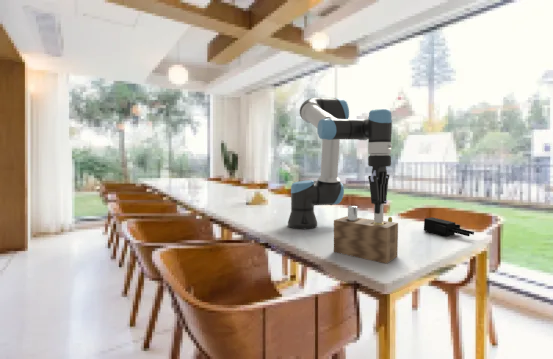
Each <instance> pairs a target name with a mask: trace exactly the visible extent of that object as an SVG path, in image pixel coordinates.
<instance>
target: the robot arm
mask: <svg viewBox="0 0 553 359" xmlns="http://www.w3.org/2000/svg"><path fill="white" fill-rule="evenodd" d="M349 108H350V107H349V105H348V101H346V99H344V98H339V97H318V96H317V97H312V98H308V99H307V100H305V101H303V103H301V105H300V107H299V116H300V117H301V119H302V120H303V121H304V122H305V123H307V124H311V125H313V127H315V128H316V129H317V130H316V131H317V135H318V138H319V139H321V140H322V141H321V144H322V145H321V158H320V160H321V162H320V176H319V177H317V182H315V181H314V180H312V179H311V180H310V179H309V180H308V179H307V180H301V181H300V180H299V181H296V182H295V181H294V182H293V183H292V184H291V185H290V187H291V188H290V209H291V211H290V215H289V218H288V220H287V227H288V228H290V229H295V230H296V229H297V230H310V229H311V230H312V229H315V228H317V227H318V221H317V216H316V213H315V209H314V208H315V206H333V205H339V204H340V203H341V202H342V201H343V198H344V194H345V188H344V184H343V183H342V182H341V178H339V177H338V171H339V155H340V142H341V140H355V141H356V140H358V141H367V140H368V145H367V146H368V147H367V148H368V149H367V154H368V158H367V164H368V166H369V167H372V168H371V169H372V170H371V175H368V177H367V179H368V181H369V190H370V192H369V193H370V202H371V204H372V205H373V208H374V210H373V220H374V222H377V223H383V221H384V204H387V197H388V189H389V188H388V187H389V180H390V173H387V167H391V165H392V156H391V155H390V154H391V153H392V148H393V144H392V128H393V119H392V117H393V116H392V111H391V110H390V109H388V108H378V109H372V110H369V112H368V117H367V118H364V119H363V118H362V119H361V118H360V119H359V118H358V119H356V118H350V109H349Z"/></svg>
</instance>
